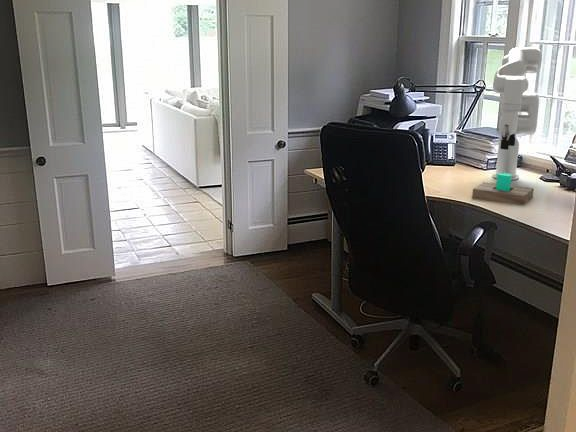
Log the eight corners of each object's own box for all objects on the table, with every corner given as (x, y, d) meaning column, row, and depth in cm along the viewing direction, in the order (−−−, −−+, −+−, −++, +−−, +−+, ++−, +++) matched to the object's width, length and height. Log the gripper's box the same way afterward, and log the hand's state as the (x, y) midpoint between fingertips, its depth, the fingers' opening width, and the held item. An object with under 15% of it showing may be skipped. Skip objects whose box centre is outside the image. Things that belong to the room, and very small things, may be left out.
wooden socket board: (483, 190, 282) (484, 181, 281) (532, 197, 270) (533, 188, 269) (472, 197, 270) (472, 188, 269) (523, 204, 258) (524, 195, 257)
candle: (499, 199, 267) (502, 172, 263) (492, 195, 272) (494, 169, 269) (511, 198, 268) (514, 171, 265) (504, 195, 274) (507, 169, 270)
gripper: (508, 105, 268) (504, 143, 273) (496, 109, 254) (492, 149, 259) (525, 106, 264) (521, 145, 269) (515, 110, 250) (510, 151, 255)
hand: (507, 147), depth 264 cm, fingers open, 9 cm apart
